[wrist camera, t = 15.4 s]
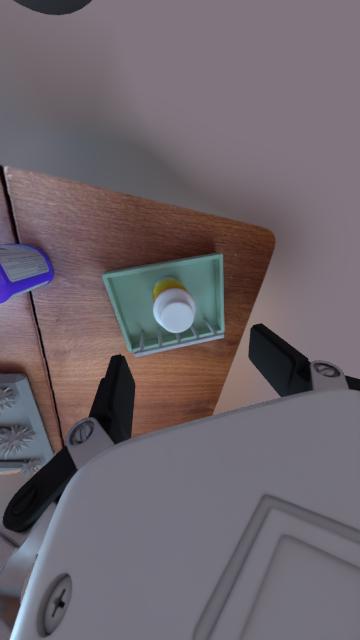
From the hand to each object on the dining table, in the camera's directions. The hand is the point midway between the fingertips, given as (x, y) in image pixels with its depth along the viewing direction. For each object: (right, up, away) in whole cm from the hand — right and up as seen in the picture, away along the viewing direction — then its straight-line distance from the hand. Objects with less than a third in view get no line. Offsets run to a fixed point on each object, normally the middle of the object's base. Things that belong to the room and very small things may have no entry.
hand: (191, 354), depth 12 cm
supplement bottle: (-3, +7, +16) cm, 18 cm away
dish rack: (-3, +6, +17) cm, 19 cm away
